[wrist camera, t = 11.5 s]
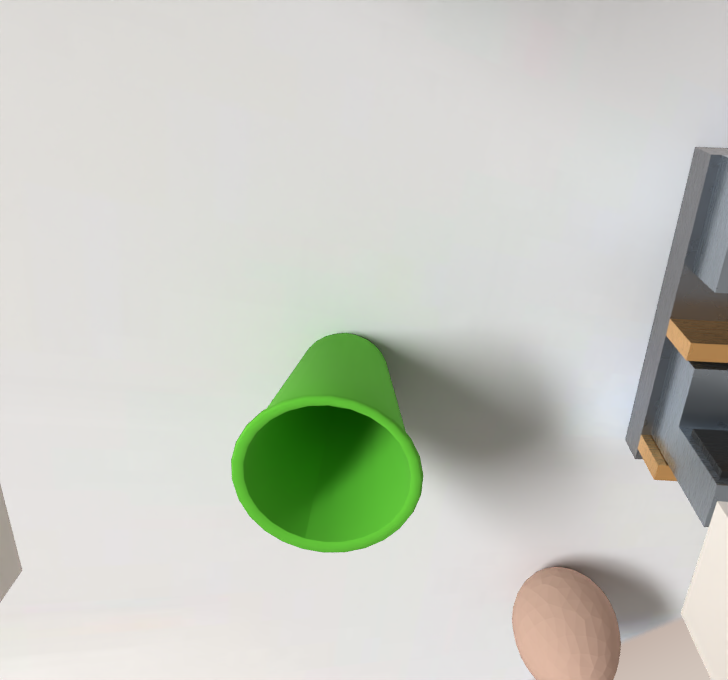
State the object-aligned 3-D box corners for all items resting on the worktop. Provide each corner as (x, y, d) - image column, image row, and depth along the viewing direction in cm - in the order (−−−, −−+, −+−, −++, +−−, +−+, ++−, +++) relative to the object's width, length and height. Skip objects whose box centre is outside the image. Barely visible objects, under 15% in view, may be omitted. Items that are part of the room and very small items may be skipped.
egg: (493, 602, 49) (511, 721, 41) (520, 534, 46) (545, 646, 38) (581, 619, 50) (616, 740, 41) (614, 552, 47) (658, 668, 39)
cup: (439, 326, 40) (450, 429, 30) (391, 446, 44) (387, 573, 34) (292, 281, 39) (254, 372, 29) (257, 408, 43) (213, 526, 33)
